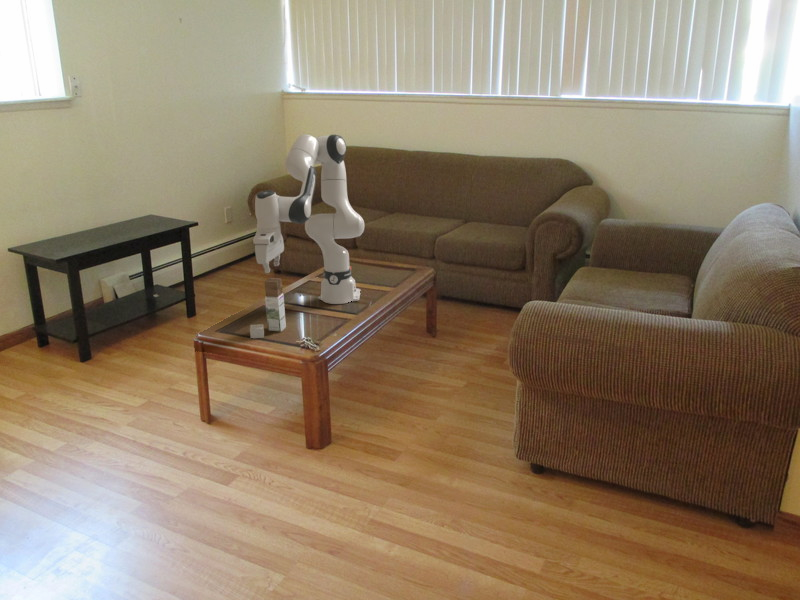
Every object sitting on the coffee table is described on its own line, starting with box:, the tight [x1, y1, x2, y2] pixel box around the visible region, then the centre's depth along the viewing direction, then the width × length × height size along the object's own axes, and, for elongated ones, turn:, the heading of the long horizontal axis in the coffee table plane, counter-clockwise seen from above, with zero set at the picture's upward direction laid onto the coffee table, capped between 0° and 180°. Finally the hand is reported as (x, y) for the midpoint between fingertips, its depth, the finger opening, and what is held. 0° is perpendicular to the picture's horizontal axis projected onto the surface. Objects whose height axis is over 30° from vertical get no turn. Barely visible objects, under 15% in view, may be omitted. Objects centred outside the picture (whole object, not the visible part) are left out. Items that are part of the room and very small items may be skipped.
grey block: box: [249, 323, 265, 339], centre depth 265 cm, size 5×5×4 cm
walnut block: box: [264, 277, 284, 297], centre depth 267 cm, size 5×5×6 cm
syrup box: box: [264, 293, 287, 333], centre depth 270 cm, size 6×6×14 cm
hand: (272, 269), depth 264 cm, fingers open, 8 cm apart
